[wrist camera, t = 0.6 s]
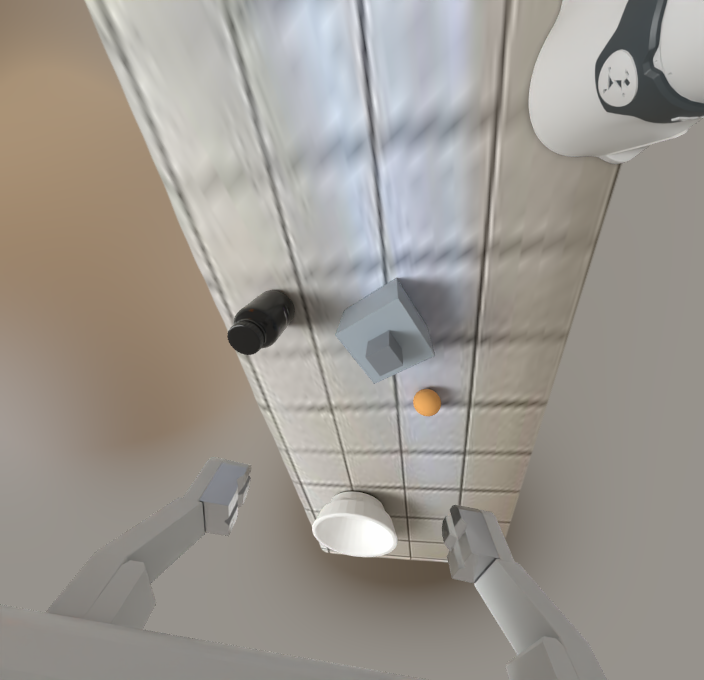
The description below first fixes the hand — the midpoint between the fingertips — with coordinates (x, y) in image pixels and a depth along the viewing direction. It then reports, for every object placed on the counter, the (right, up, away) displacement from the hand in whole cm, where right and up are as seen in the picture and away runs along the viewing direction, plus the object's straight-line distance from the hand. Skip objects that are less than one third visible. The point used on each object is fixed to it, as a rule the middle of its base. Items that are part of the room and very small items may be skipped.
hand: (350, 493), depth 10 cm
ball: (+14, -6, +39) cm, 42 cm away
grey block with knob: (+6, +10, +34) cm, 36 cm away
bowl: (+2, -41, +64) cm, 77 cm away
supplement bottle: (-13, +12, +35) cm, 40 cm away
